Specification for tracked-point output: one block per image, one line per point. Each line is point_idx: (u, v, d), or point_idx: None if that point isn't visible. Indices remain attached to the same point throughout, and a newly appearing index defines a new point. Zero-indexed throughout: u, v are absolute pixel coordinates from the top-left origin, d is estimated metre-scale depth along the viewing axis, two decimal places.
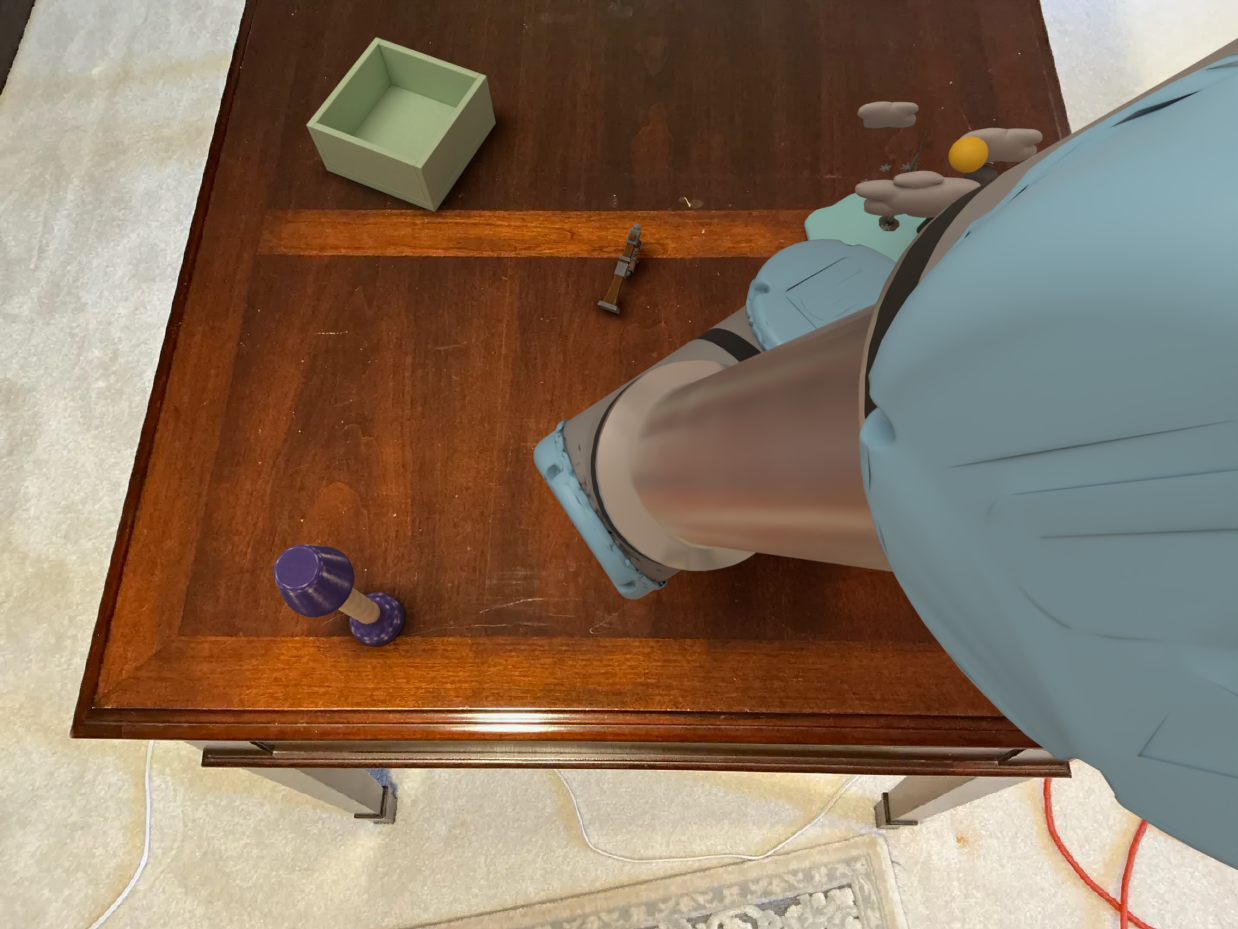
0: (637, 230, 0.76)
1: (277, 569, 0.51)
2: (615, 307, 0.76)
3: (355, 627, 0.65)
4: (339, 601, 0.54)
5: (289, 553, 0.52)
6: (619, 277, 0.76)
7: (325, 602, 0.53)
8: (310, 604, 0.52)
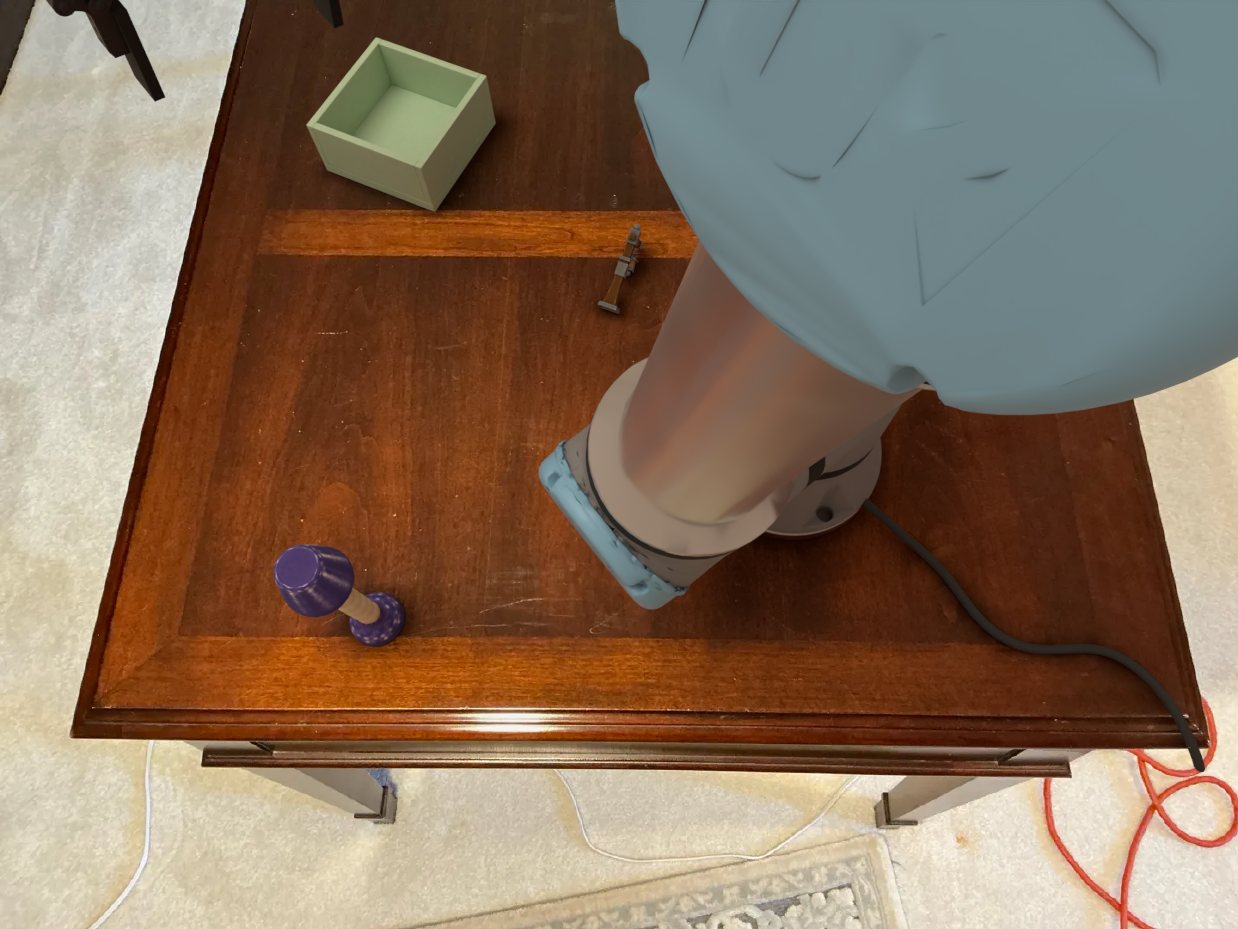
0: (637, 230, 0.76)
1: (277, 569, 0.51)
2: (615, 307, 0.76)
3: (355, 627, 0.65)
4: (339, 601, 0.54)
5: (289, 553, 0.52)
6: (619, 277, 0.76)
7: (325, 602, 0.53)
8: (310, 604, 0.52)
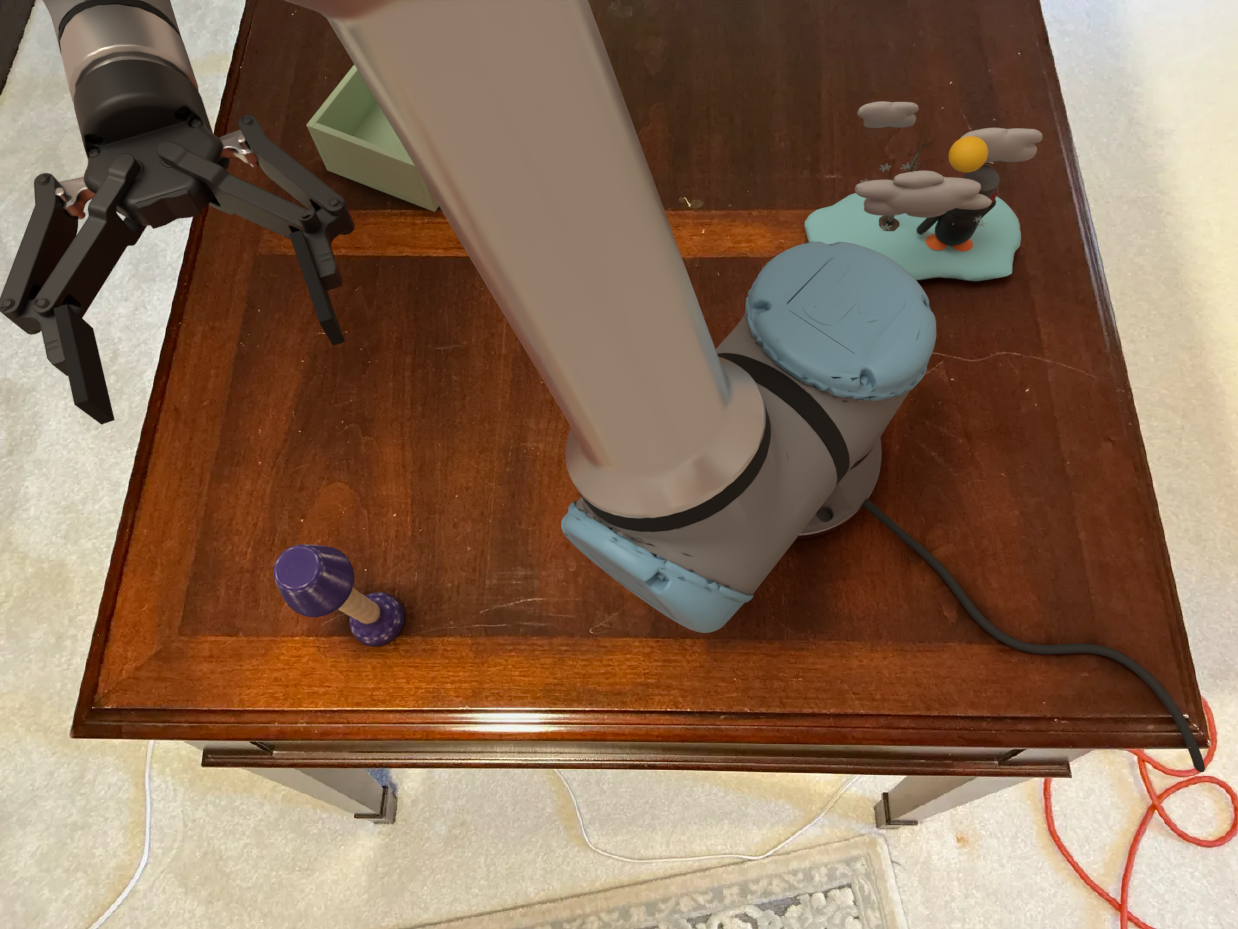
0: None
1: (277, 569, 0.51)
2: None
3: (355, 627, 0.65)
4: (339, 601, 0.54)
5: (289, 553, 0.52)
6: None
7: (325, 602, 0.53)
8: (310, 604, 0.52)
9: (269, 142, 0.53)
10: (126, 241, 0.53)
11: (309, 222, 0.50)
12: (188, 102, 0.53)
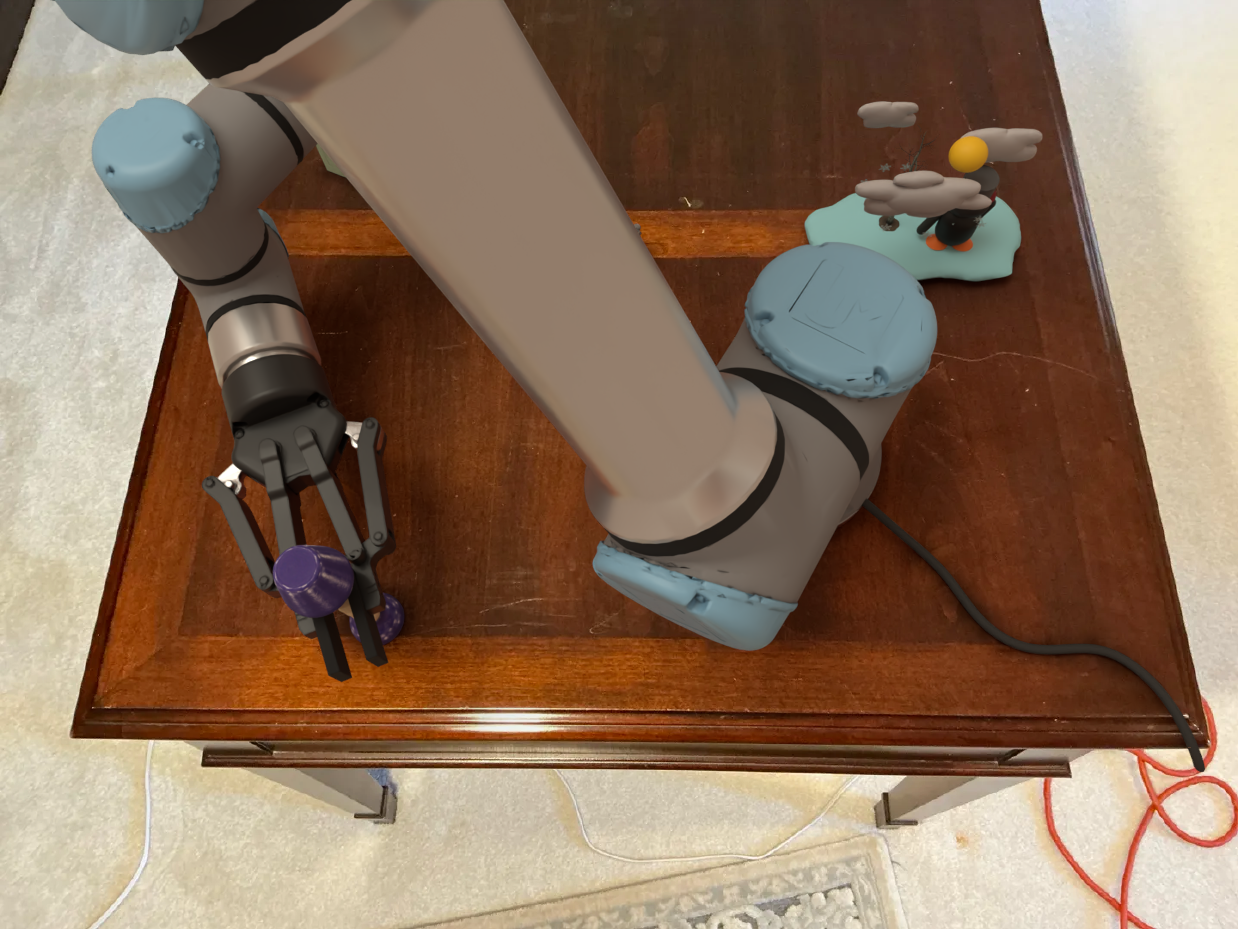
0: (637, 230, 0.76)
1: (276, 570, 0.51)
2: None
3: (355, 627, 0.65)
4: (338, 601, 0.54)
5: (289, 553, 0.52)
6: None
7: (324, 603, 0.53)
8: (310, 604, 0.52)
9: (372, 452, 0.61)
10: (298, 504, 0.61)
11: (351, 561, 0.57)
12: (317, 387, 0.62)
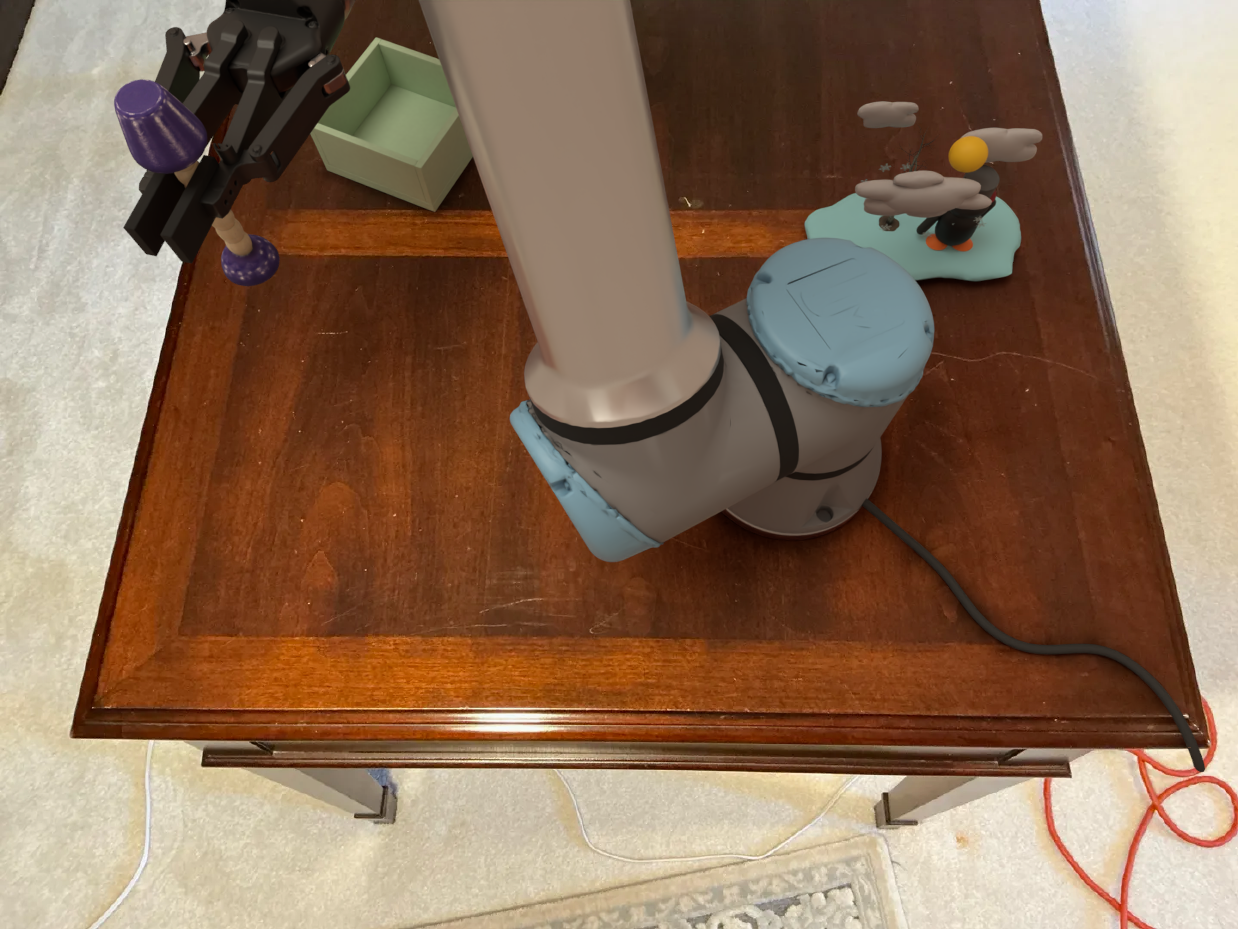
0: None
1: (122, 88, 0.49)
2: None
3: (224, 251, 0.63)
4: (166, 163, 0.51)
5: (143, 82, 0.50)
6: None
7: (149, 152, 0.51)
8: (135, 143, 0.50)
9: (312, 82, 0.57)
10: (234, 99, 0.60)
11: (217, 152, 0.55)
12: (313, 5, 0.59)
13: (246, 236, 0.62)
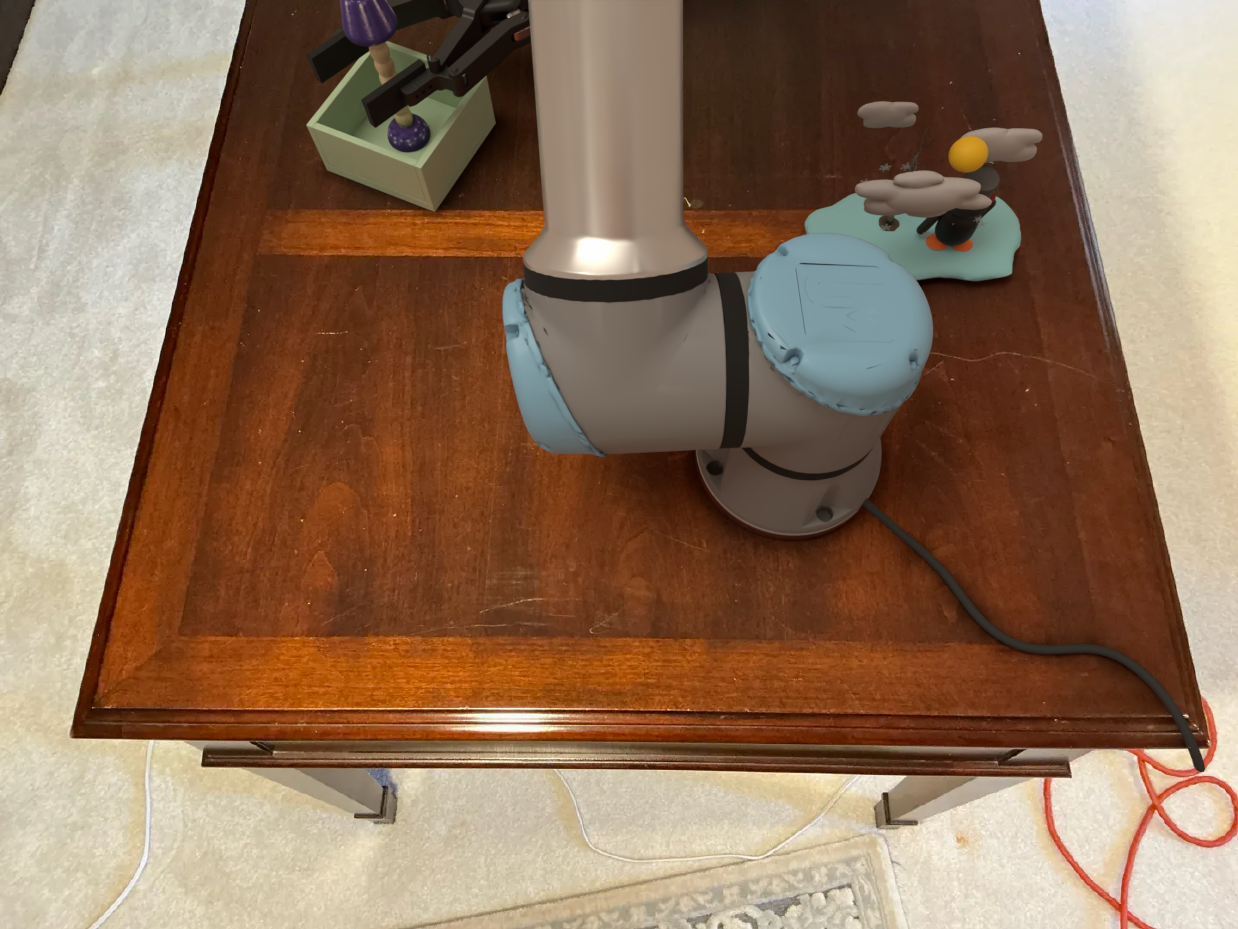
0: None
1: None
2: None
3: None
4: (358, 37, 0.71)
5: None
6: None
7: (350, 25, 0.71)
8: (343, 16, 0.71)
9: (506, 29, 0.75)
10: (438, 13, 0.79)
11: (428, 61, 0.73)
12: None
13: (408, 114, 0.82)
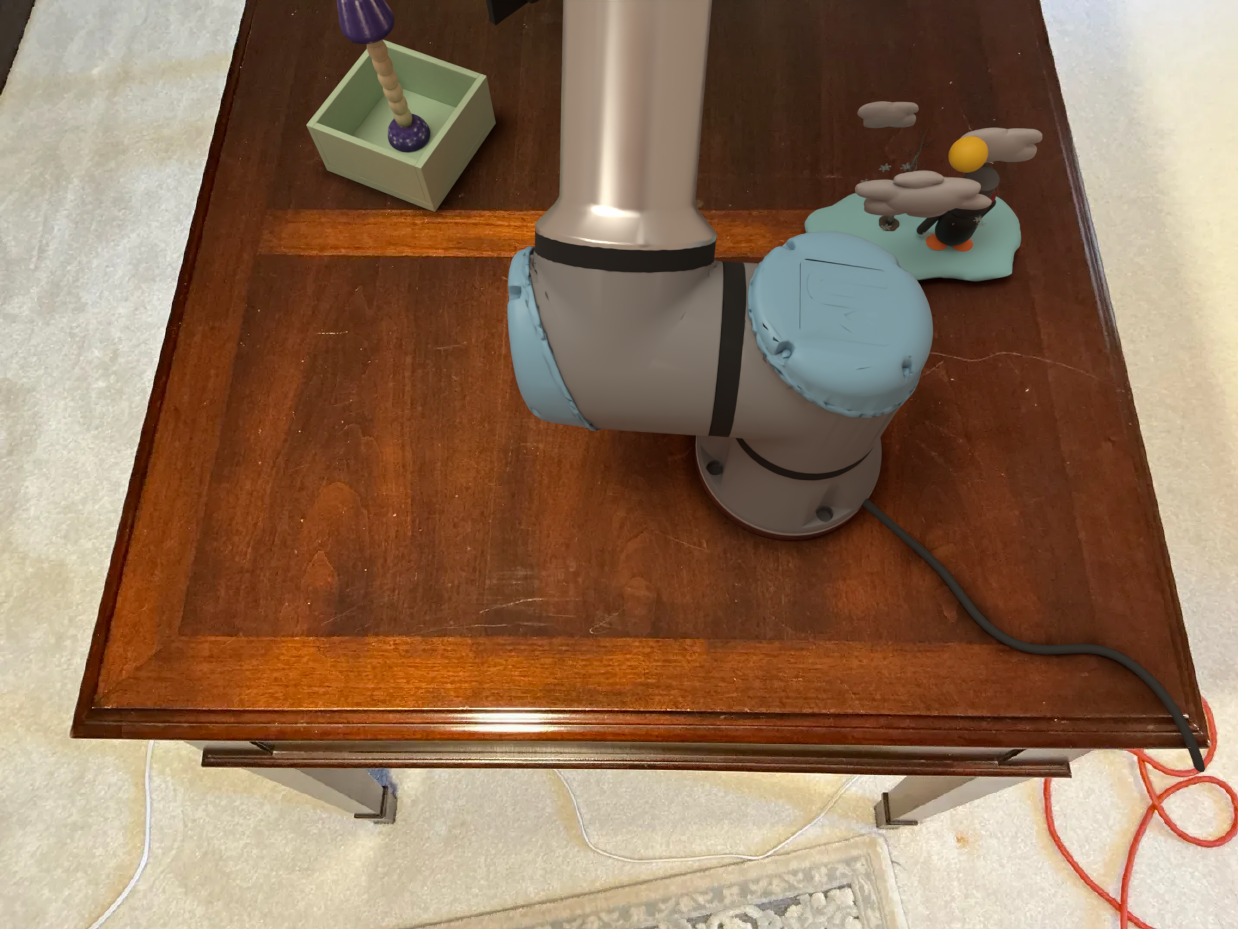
0: None
1: None
2: None
3: (393, 119, 0.84)
4: (355, 35, 0.71)
5: None
6: None
7: (346, 23, 0.71)
8: (340, 14, 0.71)
9: None
10: None
11: None
12: None
13: (408, 113, 0.82)
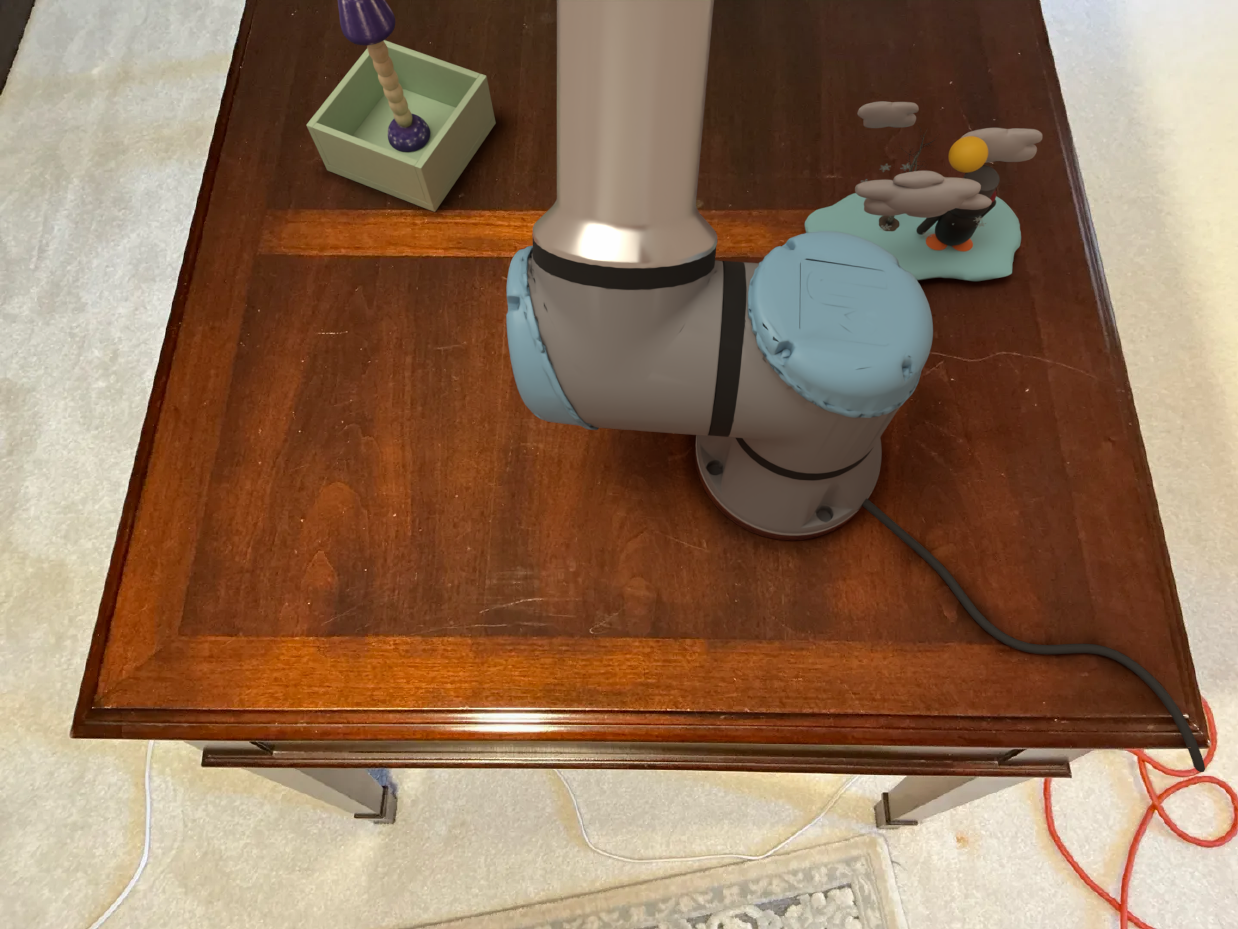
0: None
1: None
2: None
3: (393, 119, 0.84)
4: (356, 36, 0.71)
5: None
6: None
7: (347, 24, 0.71)
8: (341, 15, 0.71)
9: None
10: None
11: None
12: None
13: (408, 114, 0.82)
